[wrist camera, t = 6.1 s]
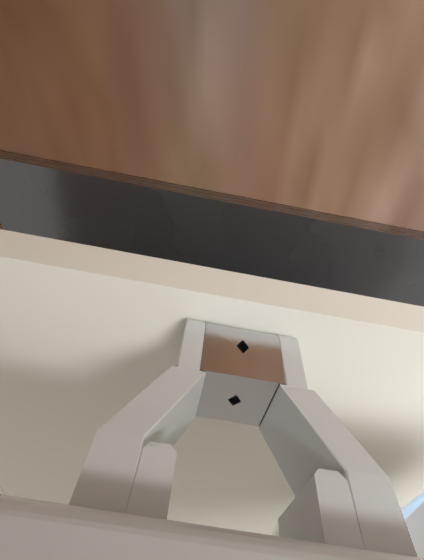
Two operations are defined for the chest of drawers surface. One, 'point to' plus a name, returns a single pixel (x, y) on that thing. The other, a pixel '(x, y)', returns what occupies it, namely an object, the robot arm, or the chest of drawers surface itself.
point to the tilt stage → (164, 353)
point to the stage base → (210, 229)
